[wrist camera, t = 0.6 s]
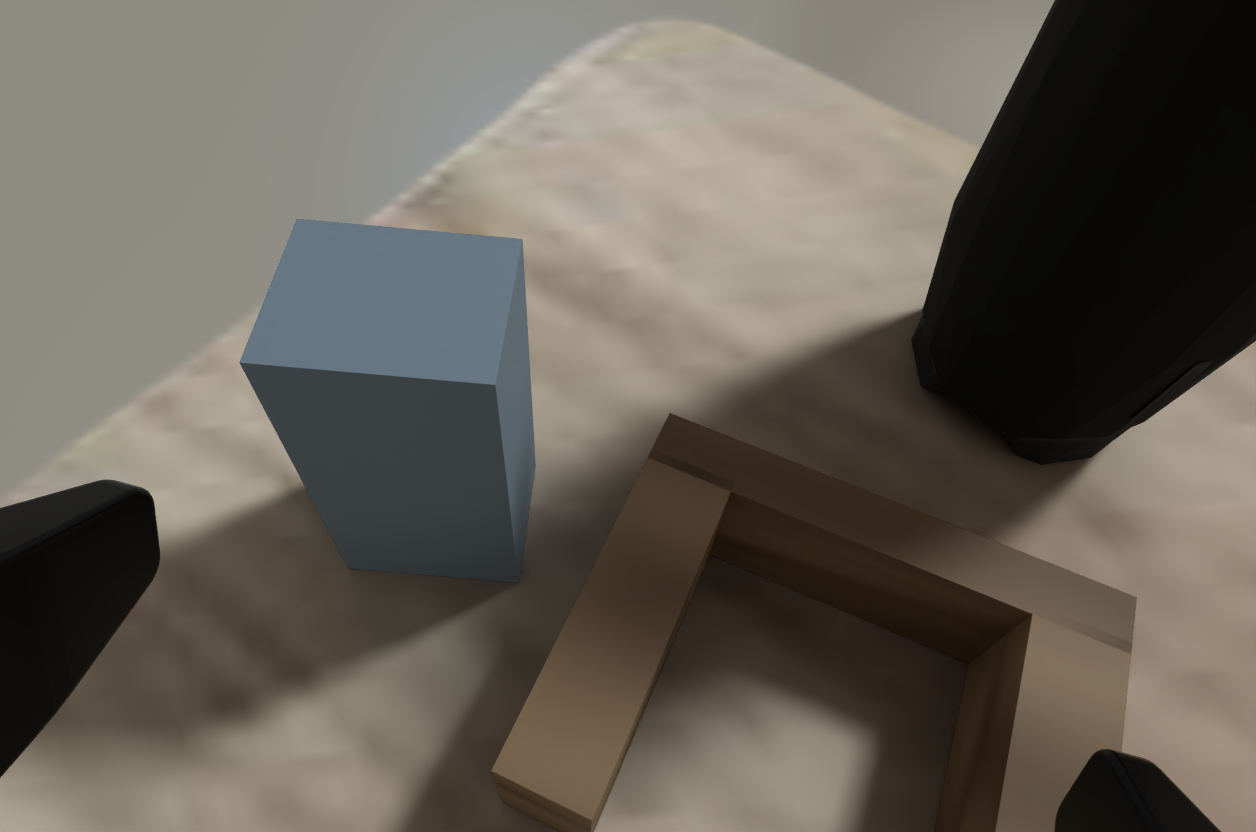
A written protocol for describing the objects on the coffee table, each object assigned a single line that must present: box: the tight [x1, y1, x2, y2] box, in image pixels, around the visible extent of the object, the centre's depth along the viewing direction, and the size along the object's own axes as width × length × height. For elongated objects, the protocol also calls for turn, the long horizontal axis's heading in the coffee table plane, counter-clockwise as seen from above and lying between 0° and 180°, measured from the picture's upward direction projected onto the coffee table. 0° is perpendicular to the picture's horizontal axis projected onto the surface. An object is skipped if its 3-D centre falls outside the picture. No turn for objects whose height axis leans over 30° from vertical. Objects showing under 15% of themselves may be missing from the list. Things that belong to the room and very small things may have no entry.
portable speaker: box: [912, 0, 1256, 464], centre depth 22 cm, size 9×9×20 cm
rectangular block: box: [240, 219, 536, 583], centre depth 22 cm, size 4×5×10 cm
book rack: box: [491, 413, 1137, 832], centre depth 22 cm, size 10×13×4 cm
